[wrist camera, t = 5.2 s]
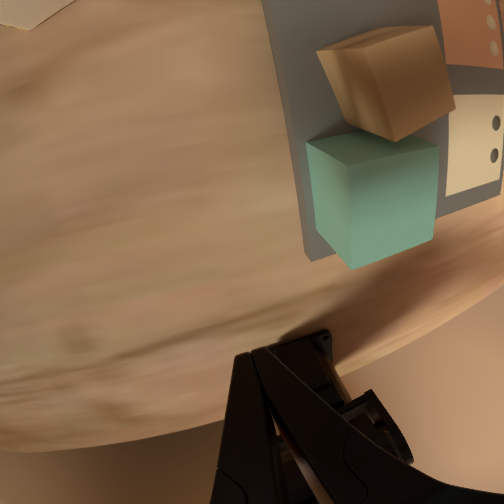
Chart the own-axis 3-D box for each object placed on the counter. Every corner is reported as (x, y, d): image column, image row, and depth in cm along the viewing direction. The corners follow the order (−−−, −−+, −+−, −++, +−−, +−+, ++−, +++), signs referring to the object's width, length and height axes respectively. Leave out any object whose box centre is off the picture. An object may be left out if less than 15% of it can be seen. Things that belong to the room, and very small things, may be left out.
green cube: (390, 207, 18) (432, 239, 15) (316, 229, 18) (351, 270, 14) (388, 126, 15) (439, 146, 12) (305, 142, 15) (347, 165, 12)
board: (491, 189, 21) (500, 194, 20) (304, 252, 19) (311, 261, 19) (481, -33, 11) (491, -33, 10) (242, -74, 9) (247, -82, 8)
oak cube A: (403, 95, 15) (456, 108, 11) (346, 123, 15) (395, 142, 11) (378, 27, 12) (432, 25, 9) (315, 51, 12) (362, 48, 9)
